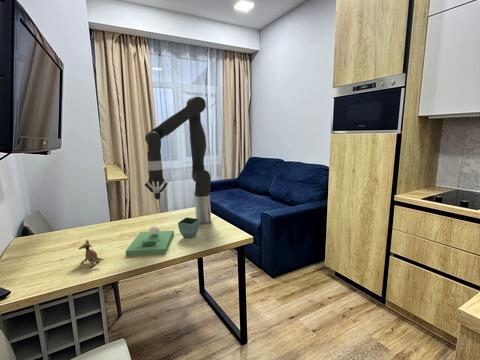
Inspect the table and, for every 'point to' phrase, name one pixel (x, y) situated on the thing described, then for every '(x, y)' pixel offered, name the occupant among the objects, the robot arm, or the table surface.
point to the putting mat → (150, 243)
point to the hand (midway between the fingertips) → (157, 199)
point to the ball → (154, 230)
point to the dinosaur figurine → (90, 254)
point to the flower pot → (189, 227)
